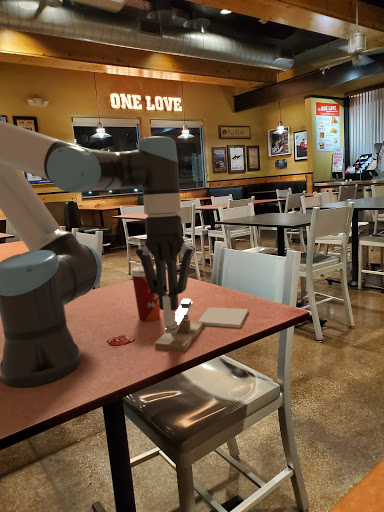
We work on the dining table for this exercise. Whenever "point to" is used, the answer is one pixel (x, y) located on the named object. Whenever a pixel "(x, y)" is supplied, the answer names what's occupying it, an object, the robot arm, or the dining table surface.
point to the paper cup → (145, 296)
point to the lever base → (180, 336)
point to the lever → (180, 316)
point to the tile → (224, 317)
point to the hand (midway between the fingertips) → (170, 323)
